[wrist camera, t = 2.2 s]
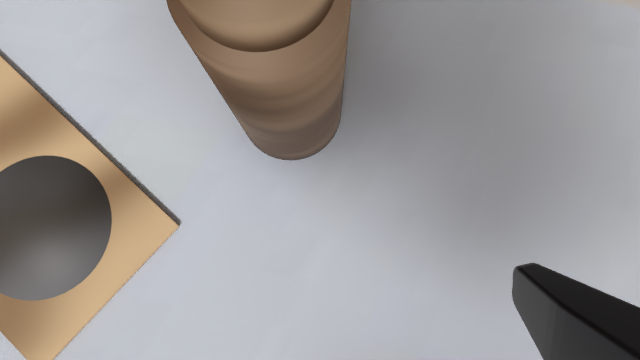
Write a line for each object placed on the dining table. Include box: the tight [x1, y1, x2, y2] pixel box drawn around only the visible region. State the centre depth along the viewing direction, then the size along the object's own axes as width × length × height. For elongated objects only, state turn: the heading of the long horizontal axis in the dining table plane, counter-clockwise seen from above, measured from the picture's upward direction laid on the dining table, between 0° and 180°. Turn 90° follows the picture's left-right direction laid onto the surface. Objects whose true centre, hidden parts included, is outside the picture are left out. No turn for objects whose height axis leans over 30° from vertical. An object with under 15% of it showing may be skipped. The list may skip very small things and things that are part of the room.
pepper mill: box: [167, 0, 351, 160], centre depth 17 cm, size 5×5×12 cm
